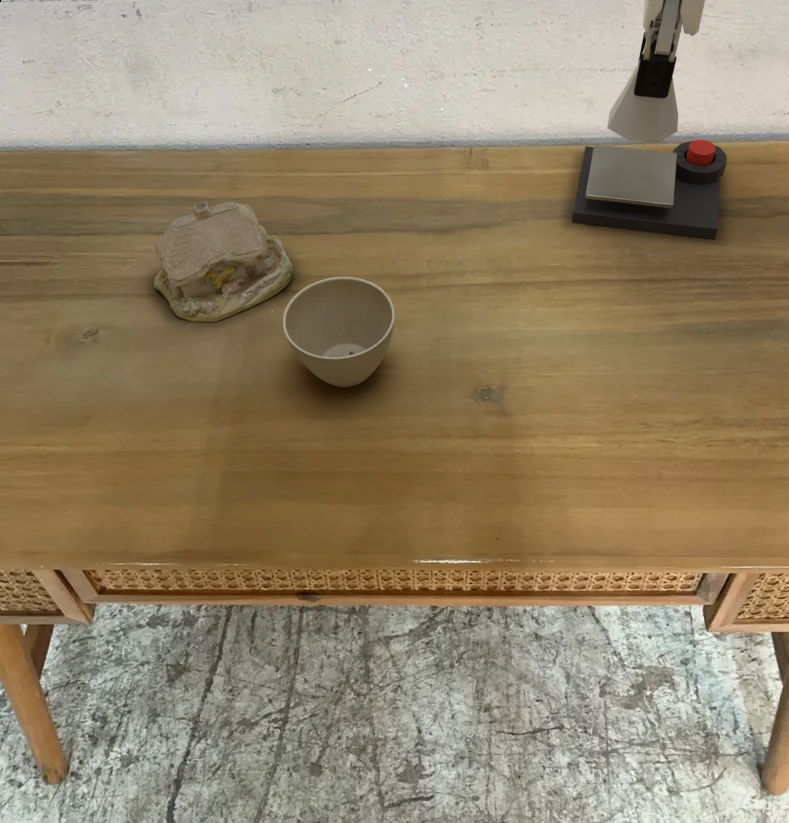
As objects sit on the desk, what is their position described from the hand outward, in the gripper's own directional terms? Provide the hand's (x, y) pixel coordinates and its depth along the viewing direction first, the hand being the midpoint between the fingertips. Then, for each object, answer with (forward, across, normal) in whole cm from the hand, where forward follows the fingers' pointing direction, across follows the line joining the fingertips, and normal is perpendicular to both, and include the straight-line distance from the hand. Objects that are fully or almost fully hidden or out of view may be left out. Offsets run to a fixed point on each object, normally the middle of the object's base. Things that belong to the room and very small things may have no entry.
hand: (651, 82), depth 81 cm
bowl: (+14, -30, +24) cm, 41 cm away
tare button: (+12, +5, -7) cm, 14 cm away
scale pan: (+11, 0, 0) cm, 11 cm away
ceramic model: (+14, -21, +40) cm, 47 cm away
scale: (+14, +1, -2) cm, 14 cm away
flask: (+5, 0, 0) cm, 5 cm away
